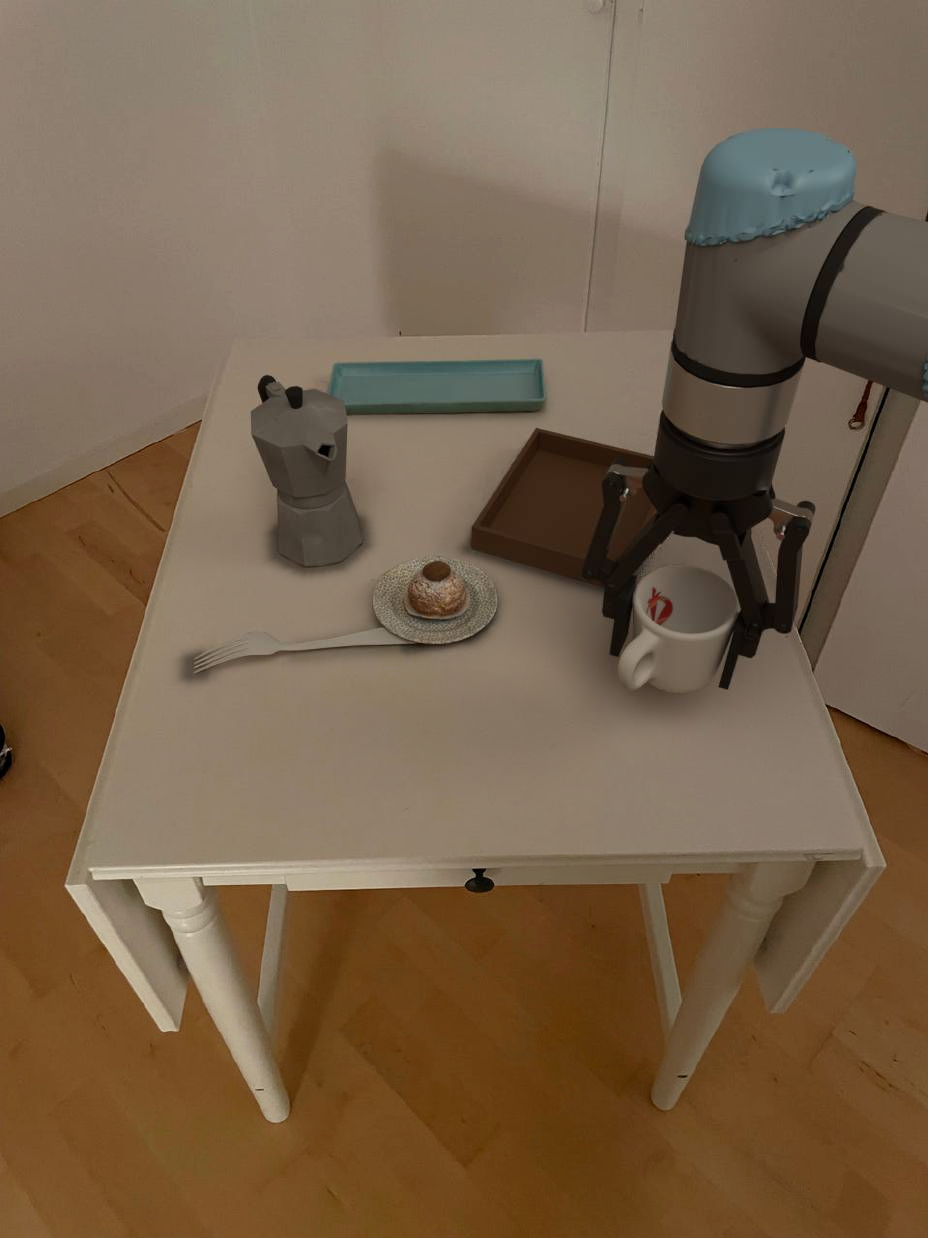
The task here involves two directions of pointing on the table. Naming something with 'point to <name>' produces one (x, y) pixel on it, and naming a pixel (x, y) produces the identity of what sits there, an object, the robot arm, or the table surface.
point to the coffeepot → (307, 472)
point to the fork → (294, 644)
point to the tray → (558, 505)
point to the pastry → (435, 600)
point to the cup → (678, 629)
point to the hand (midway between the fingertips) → (672, 659)
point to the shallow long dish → (439, 386)
